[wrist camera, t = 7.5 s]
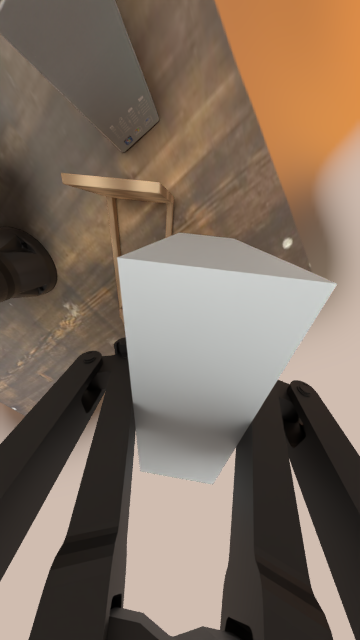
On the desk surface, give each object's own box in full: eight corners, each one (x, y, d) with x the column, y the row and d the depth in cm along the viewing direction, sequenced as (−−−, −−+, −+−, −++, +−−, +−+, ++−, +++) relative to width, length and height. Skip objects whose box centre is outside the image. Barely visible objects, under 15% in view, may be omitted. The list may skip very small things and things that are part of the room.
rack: (122, 314, 43) (98, 342, 33) (109, 190, 29) (60, 173, 19) (167, 320, 42) (156, 350, 32) (174, 197, 29) (159, 182, 19)
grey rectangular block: (170, 347, 22) (140, 471, 11) (179, 232, 15) (117, 257, 4) (206, 352, 22) (212, 484, 11) (233, 238, 15) (337, 283, 4)
